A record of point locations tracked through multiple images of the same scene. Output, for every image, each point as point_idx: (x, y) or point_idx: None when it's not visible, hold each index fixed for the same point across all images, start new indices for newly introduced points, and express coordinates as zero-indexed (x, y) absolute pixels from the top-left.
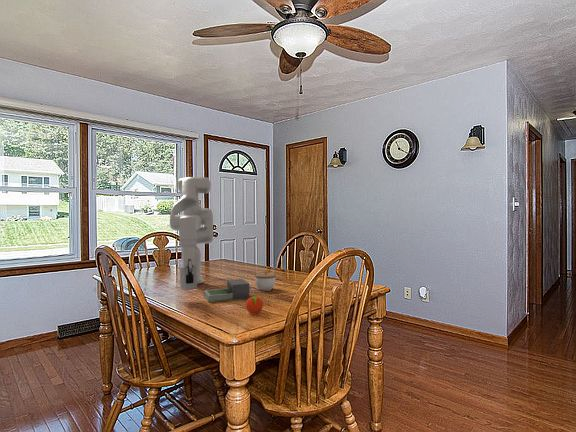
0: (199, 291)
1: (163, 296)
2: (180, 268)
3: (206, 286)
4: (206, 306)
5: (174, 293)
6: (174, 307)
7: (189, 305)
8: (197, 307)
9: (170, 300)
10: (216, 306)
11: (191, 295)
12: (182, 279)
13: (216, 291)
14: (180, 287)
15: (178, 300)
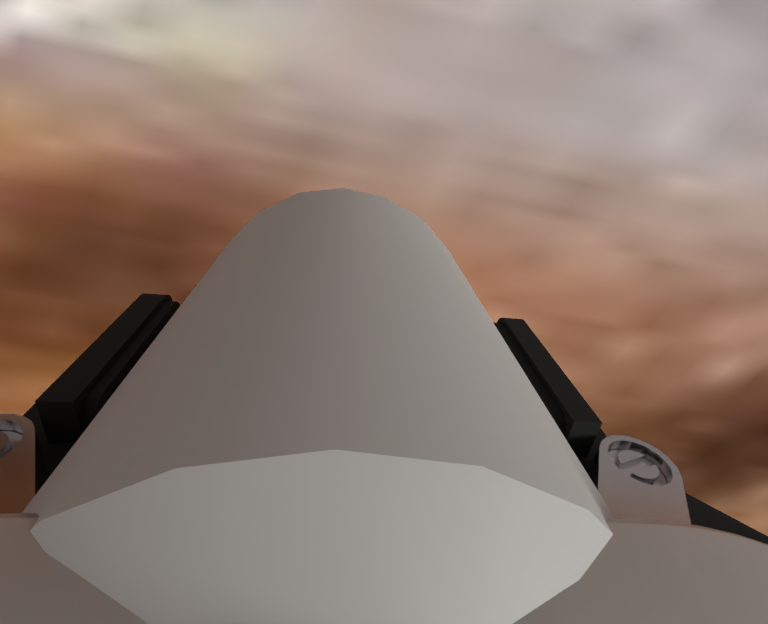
0: (624, 386)
1: (706, 6)
2: (260, 410)
3: (738, 453)
4: (39, 345)
5: (735, 167)
6: (71, 18)
7: (125, 209)
8: (14, 266)
9: (454, 49)
10: (21, 412)
11: (531, 304)
12: (221, 265)
13: None
14: (333, 189)
15: (403, 143)
